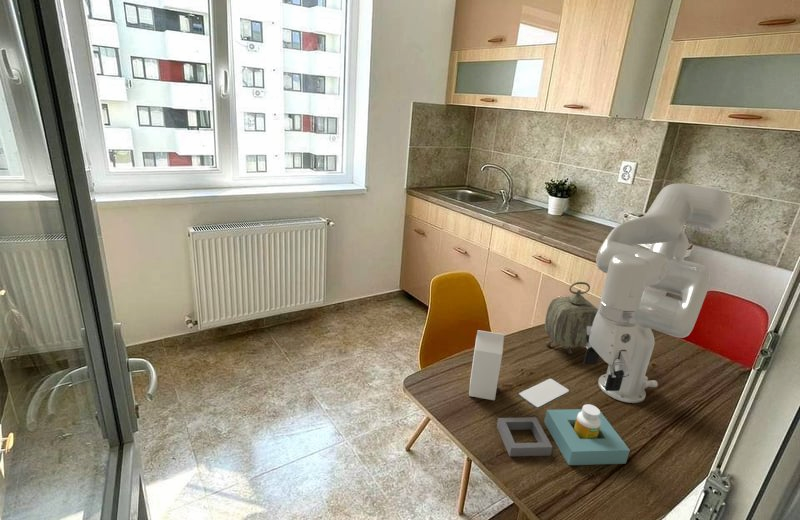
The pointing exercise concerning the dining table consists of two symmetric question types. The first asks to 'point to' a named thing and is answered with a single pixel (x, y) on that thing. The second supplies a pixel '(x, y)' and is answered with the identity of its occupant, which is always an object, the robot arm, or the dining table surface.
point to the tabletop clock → (570, 319)
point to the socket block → (585, 440)
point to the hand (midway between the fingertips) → (600, 376)
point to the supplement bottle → (588, 422)
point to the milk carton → (486, 365)
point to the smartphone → (543, 393)
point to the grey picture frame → (524, 448)
